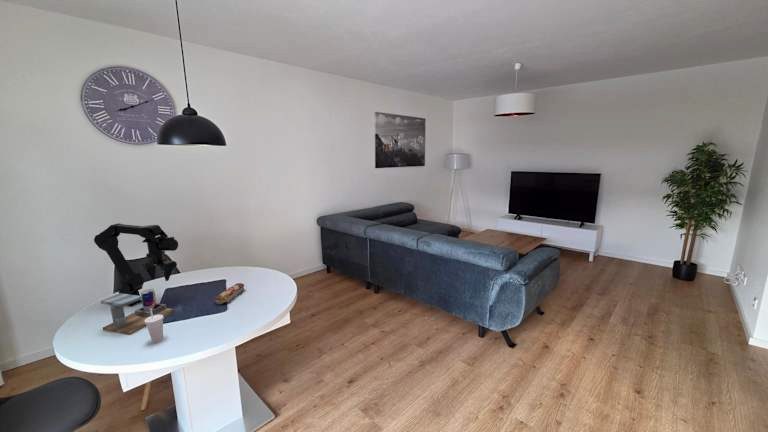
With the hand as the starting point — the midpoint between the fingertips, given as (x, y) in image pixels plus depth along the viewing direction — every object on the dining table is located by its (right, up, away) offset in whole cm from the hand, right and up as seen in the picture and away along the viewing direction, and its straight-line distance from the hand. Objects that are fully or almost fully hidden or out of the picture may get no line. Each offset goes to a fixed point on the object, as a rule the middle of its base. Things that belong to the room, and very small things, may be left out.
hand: (160, 279), depth 161 cm
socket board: (+1, -16, -14) cm, 21 cm away
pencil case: (+32, -11, +9) cm, 35 cm away
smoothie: (+20, -19, -30) cm, 41 cm away
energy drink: (+2, -15, -9) cm, 18 cm away
